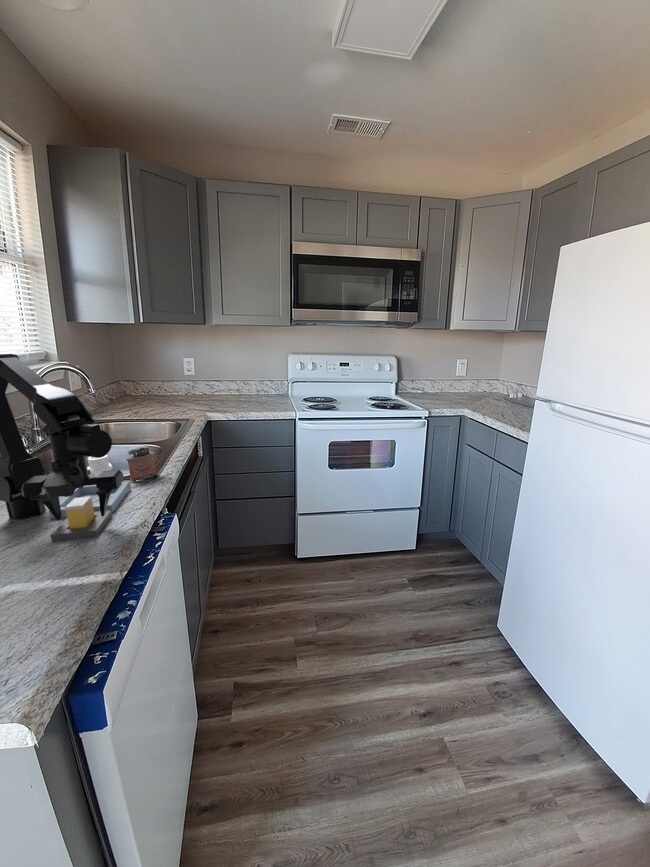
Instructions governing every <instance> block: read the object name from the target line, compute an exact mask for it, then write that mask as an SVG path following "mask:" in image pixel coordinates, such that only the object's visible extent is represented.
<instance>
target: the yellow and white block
mask: <svg viewBox="0 0 650 867" xmlns="http://www.w3.org/2000/svg"><path fill="white" fill-rule="evenodd" d="M93 504H94V503H93V499H92V496H79V497H78V498H74V499H73V500H72V501H71V502H70V503H69V504H68V505H67V506H66V507H65V509H66V514H67V517H66V518H67V519H68V523H69V528H70V529H74V528H85V527H89V526H90V524H91V523H92V522H93V521H94V519H95V514H94V509H93Z"/></svg>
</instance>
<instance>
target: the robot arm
mask: <svg viewBox="0 0 650 867" xmlns="http://www.w3.org/2000/svg"><path fill="white" fill-rule="evenodd" d="M9 384H10V385H11V386H12V387H13V388H15V389H16V390H17V391H18V392H20V393H21V394H22V395H23V396H24V397H25V398H27V399H28V400H29V401H30V402H31V403H32V411H33V413H34V414H35V415H36V416H37V417H38V418H39V419H40V421H42V422H43V423H44V424H45V426H44V427H43V428H42V429H41V430H42V433H48V437H49V442H50V446H51V452H52V456H53V460H52V461H50V462H51V471H50V473H49V474H47V473H46V469H44V467H43V465H42V464H43V463H42V461H41V458H39V457H38V456H36V457H34V456H33V455H32V454H30V453H29V452H28V450H27V449H26V446H25V443H24V441H23V437H22V435H21V432H20V429H19V427H18V425H17V421H16V419H15V416H14V413H13V411H12V408H11V405H10V402H9V401H8V398H7V395H6V393H7V389H8V385H9ZM112 444H113V440H112V437H111V436H110V434H109V433H108V432H106V431H105V430H104V429H103V430H102V428H101V425H100V424H99V423H95V420H94V418H93V416H92V414H91V413H90V412H89V411H88V410H87V408H86V407H85V406H84V404H83V403H82V401H81V400H80V399H79V397H78V396H77V395H76V394H75V393H73V392H71V391H69V390H67V389H65V388H62V387H59V386H56V385H55V386H54V385H52V384H50V383H49V382H47V381H46V380H45V379H44V378H42V377H41V376H40V375H39V374H38V373H36V372H35V371H34V370H33V369H31V368H30V367H29V366H28V365H26V364H25V363H24V362H22V360H20V358H19V356H18V355H17V354H16V353H15V352H11V351H6V352H5V351H4V352H3V351H2V352H0V457H1V461H0V501H1V502H4V503H5V506H6V510H7V513H8V518H9V519H12V520H13V519H14V520H25V519H30V518H33V517H38V516H42V515H43V514H44V513H45V512H46V508H47V509H48V511H49V510H50V512H51V513H52V514H53V516H54V517H55V518H54V519H55V520H56V521H61V520H62V518H61V508H60V502H59V501H60V497H62V498H63V497H69V496H71V495H73V494H74V492H75V490H76V489H77V488H83V486H88V485H96V487H97V488H98V489H99V490H98V491H97V492H96V493H97V495H96V496H98V500H99V503H98V504H100V512H101V515H102V516H104V515H105V513H106V509H107V505H108V501H109V500H110V498H111V495H112V494H111V492H112V491H113V490H114V489H117V488H118V487H119V485H120V484H121V483H122V482H125V478H124V473H123V472H122V471H121V469H111V470H108V471H103V472H102V473H101V474H100V475H99V476H95V475H94V476H90V469H87V467H88V465H87V460H86V459H87V458H88V457H96V458H100V457H103V456H105V455H108V453H109V452H110V451H111V449H112Z"/></svg>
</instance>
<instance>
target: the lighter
mask: <svg viewBox="0 0 650 867" xmlns="http://www.w3.org/2000/svg"><path fill="white" fill-rule="evenodd" d="M127 452H128V455H129V457H126V461H127V463H128V471H129V476H130V478H131V479H130V478H129V481H130V480H131V481H136V480H139V479H142V478H146V477H149V476H152V475H155V474H157V471H156V464H155V459H154V455H155V453H154V452H153V451H150V447H149V446H148V445H147V446H144V447H142V446H138V447H137V448H132V449H128V451H127Z"/></svg>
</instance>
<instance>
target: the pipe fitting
mask: <svg viewBox="0 0 650 867" xmlns="http://www.w3.org/2000/svg"><path fill="white" fill-rule="evenodd" d="M87 462H88V466H87V469H90V474H91V475H92V474H93V475H94V476H99V475H100V474H101V473H102V472H103V471H108V470H114V469H113V465H112V464H111V463H110V462H109V457H108V454H106V455H105V456H103V457H100V458H96V457H90V456H88V457H87ZM90 474H89V475H90Z"/></svg>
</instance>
